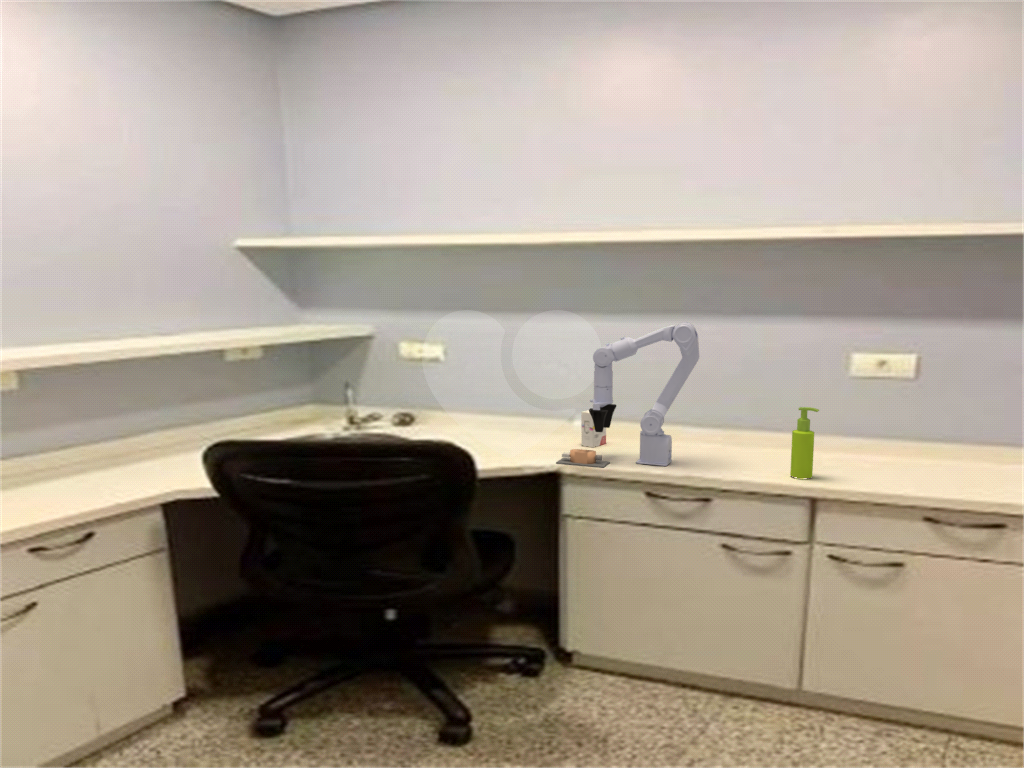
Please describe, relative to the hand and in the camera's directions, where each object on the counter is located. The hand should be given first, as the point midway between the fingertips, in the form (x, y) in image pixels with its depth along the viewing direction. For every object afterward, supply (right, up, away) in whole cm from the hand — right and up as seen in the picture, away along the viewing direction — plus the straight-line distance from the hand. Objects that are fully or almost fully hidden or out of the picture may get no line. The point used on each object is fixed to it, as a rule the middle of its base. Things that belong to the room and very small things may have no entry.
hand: (602, 429), depth 257 cm
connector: (-6, -10, -4) cm, 12 cm away
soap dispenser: (+54, -13, -21) cm, 60 cm away
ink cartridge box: (-1, -7, +23) cm, 24 cm away
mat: (-6, -10, -4) cm, 12 cm away
